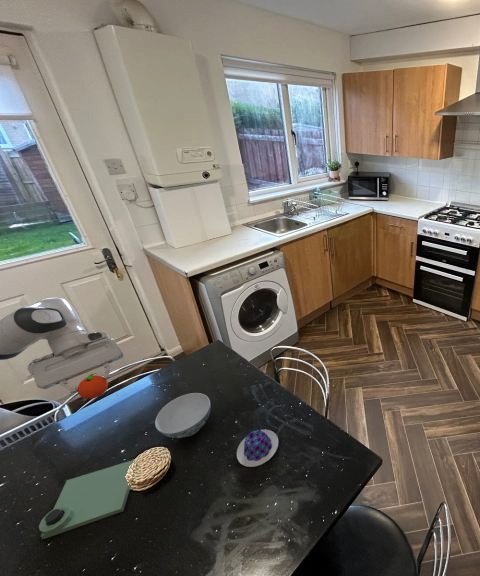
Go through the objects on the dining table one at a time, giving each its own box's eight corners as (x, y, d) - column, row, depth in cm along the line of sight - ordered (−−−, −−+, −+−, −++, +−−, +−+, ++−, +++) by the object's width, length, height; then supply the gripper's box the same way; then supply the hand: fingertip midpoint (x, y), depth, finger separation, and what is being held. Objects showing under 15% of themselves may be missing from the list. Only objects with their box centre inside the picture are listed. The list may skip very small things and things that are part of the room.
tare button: (45, 527, 74) (42, 523, 73) (51, 514, 76) (48, 511, 76) (60, 522, 75) (57, 518, 74) (65, 510, 77) (62, 506, 77)
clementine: (90, 387, 100) (80, 371, 97) (116, 381, 103) (106, 365, 99) (79, 406, 94) (68, 389, 90) (107, 400, 96) (97, 383, 93)
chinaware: (214, 439, 97) (207, 423, 93) (159, 456, 92) (149, 440, 88) (217, 403, 109) (211, 387, 105) (168, 416, 104) (160, 400, 101)
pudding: (235, 440, 97) (231, 430, 94) (275, 425, 101) (272, 414, 99) (239, 475, 87) (234, 464, 85) (282, 456, 92) (279, 446, 90)
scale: (40, 541, 74) (33, 535, 72) (67, 483, 85) (62, 477, 84) (123, 512, 79) (118, 506, 78) (137, 461, 91) (133, 455, 89)
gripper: (20, 360, 88) (41, 404, 86) (110, 329, 101) (130, 366, 100) (28, 365, 92) (48, 406, 91) (113, 334, 105) (132, 369, 104)
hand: (91, 385), depth 96 cm, fingers closed on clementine, 6 cm apart
